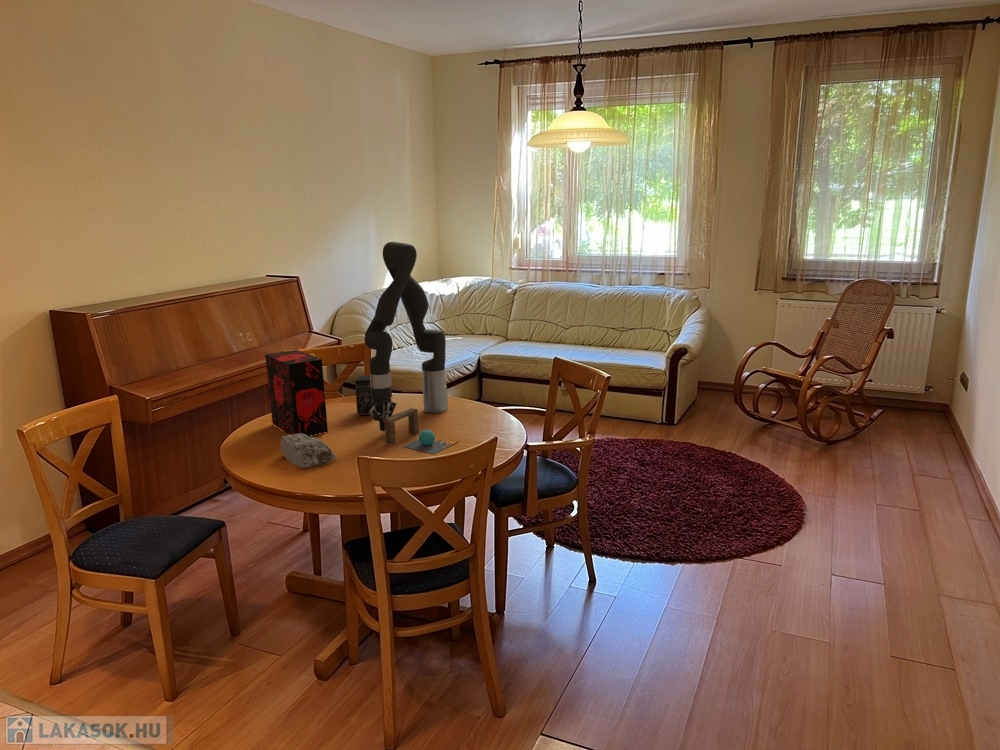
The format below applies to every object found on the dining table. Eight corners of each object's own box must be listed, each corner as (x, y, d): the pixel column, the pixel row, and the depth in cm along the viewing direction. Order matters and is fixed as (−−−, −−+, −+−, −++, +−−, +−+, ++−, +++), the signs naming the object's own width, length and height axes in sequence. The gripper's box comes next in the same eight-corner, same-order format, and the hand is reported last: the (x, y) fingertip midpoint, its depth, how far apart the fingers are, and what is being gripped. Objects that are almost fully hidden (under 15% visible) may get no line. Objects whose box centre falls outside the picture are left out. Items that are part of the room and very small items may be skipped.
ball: (429, 424, 244) (439, 433, 242) (425, 436, 247) (436, 445, 245) (417, 429, 240) (428, 439, 238) (414, 441, 243) (424, 451, 241)
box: (272, 424, 270) (265, 354, 263) (303, 418, 277) (296, 349, 270) (295, 439, 252) (288, 364, 245) (327, 432, 259) (321, 359, 253)
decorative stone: (274, 453, 234) (279, 425, 232) (309, 451, 244) (315, 424, 242) (301, 477, 221) (307, 447, 219) (338, 474, 231) (344, 446, 229)
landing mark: (427, 435, 253) (427, 435, 253) (458, 442, 246) (458, 441, 246) (402, 447, 242) (402, 446, 242) (434, 454, 234) (434, 453, 234)
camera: (382, 416, 277) (380, 380, 274) (356, 416, 278) (353, 380, 274) (387, 409, 288) (385, 373, 284) (361, 409, 288) (359, 374, 284)
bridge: (385, 443, 246) (384, 418, 244) (412, 432, 258) (411, 408, 255) (392, 445, 244) (390, 419, 242) (418, 433, 256) (417, 409, 254)
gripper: (385, 379, 259) (388, 424, 263) (360, 387, 248) (363, 434, 252) (401, 382, 254) (403, 427, 259) (376, 390, 244) (379, 437, 248)
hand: (383, 430), depth 255 cm, fingers closed
